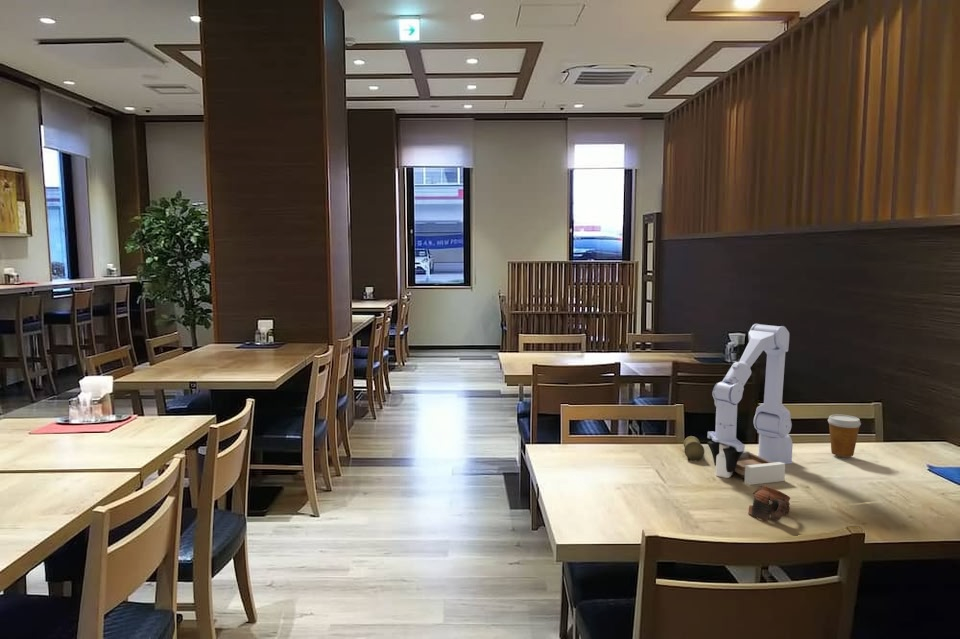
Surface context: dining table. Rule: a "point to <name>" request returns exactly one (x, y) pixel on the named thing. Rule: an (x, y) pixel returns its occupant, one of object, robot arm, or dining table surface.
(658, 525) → the dining table surface
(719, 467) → the pepper shaker
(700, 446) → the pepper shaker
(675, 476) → the dining table surface
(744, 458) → the brown wooden square tray
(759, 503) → the pottery mug
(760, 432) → the robot arm
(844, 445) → the disposable coffee cup
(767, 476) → the block
